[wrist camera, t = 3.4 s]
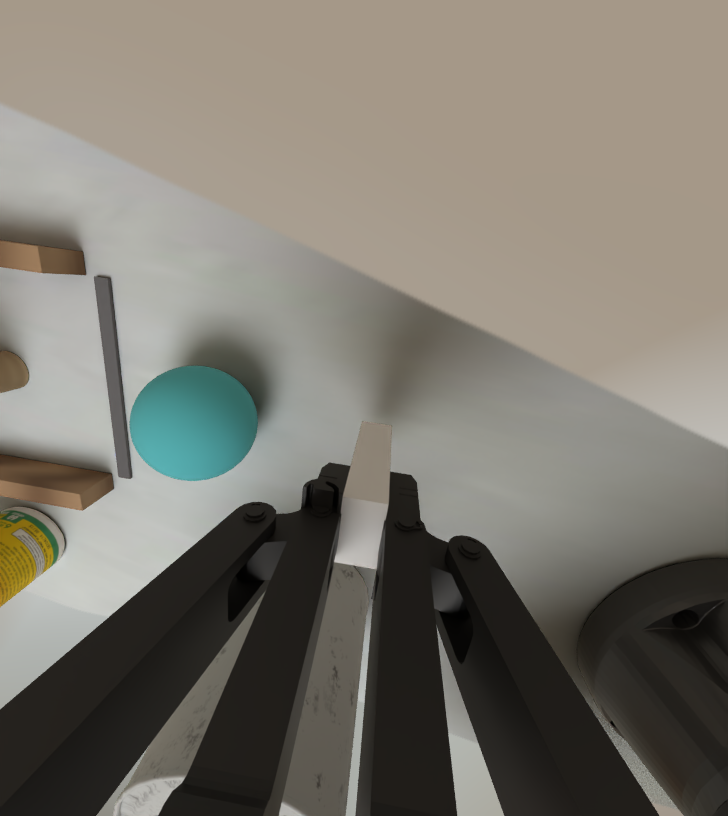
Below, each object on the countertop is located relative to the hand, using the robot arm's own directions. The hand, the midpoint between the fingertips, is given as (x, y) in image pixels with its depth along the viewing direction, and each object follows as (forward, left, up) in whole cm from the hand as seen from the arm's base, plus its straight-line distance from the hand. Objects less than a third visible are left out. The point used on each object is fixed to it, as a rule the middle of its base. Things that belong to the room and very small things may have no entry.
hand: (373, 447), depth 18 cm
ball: (+9, 0, 0) cm, 9 cm away
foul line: (+16, 0, -3) cm, 17 cm away
